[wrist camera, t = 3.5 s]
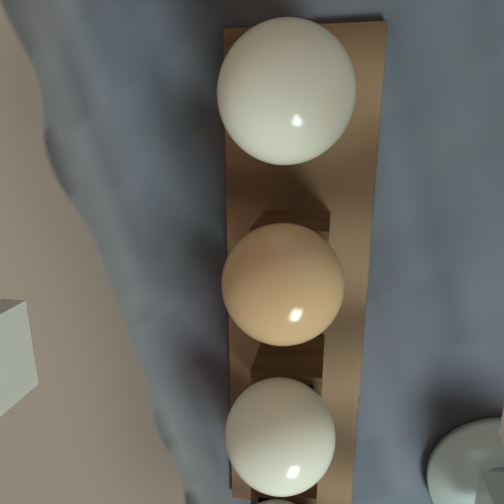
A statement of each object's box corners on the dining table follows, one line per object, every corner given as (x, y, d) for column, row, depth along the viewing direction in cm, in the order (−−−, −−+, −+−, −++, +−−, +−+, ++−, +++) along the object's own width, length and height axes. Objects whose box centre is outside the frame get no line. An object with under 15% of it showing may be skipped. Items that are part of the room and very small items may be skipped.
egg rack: (225, 30, 21) (195, 4, 17) (386, 22, 20) (400, -8, 15) (233, 492, 29) (214, 558, 24) (349, 509, 28) (352, 583, 23)
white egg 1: (233, 36, 17) (195, 3, 13) (357, 30, 16) (365, -7, 12) (234, 159, 18) (201, 170, 14) (350, 161, 18) (354, 172, 13)
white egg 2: (237, 353, 21) (210, 415, 16) (338, 362, 20) (338, 430, 16) (238, 436, 22) (213, 515, 18) (333, 448, 21) (332, 534, 17)
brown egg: (235, 210, 19) (204, 236, 15) (346, 214, 18) (350, 243, 14) (236, 310, 20) (208, 363, 16) (340, 319, 20) (342, 376, 15)
